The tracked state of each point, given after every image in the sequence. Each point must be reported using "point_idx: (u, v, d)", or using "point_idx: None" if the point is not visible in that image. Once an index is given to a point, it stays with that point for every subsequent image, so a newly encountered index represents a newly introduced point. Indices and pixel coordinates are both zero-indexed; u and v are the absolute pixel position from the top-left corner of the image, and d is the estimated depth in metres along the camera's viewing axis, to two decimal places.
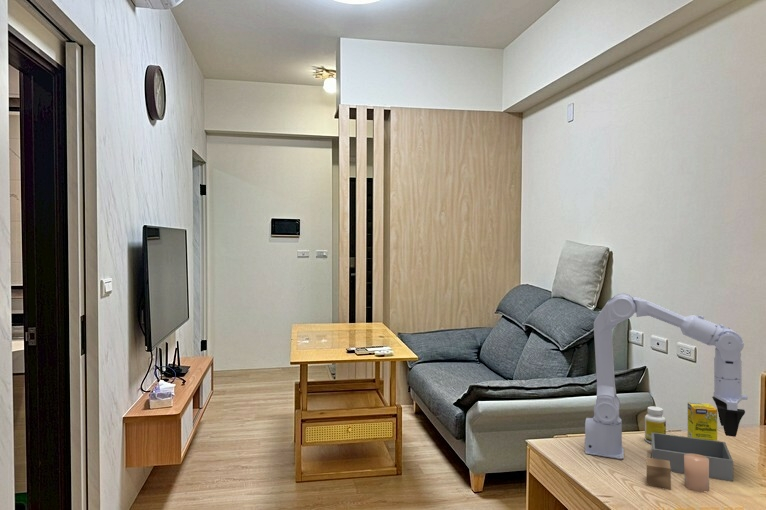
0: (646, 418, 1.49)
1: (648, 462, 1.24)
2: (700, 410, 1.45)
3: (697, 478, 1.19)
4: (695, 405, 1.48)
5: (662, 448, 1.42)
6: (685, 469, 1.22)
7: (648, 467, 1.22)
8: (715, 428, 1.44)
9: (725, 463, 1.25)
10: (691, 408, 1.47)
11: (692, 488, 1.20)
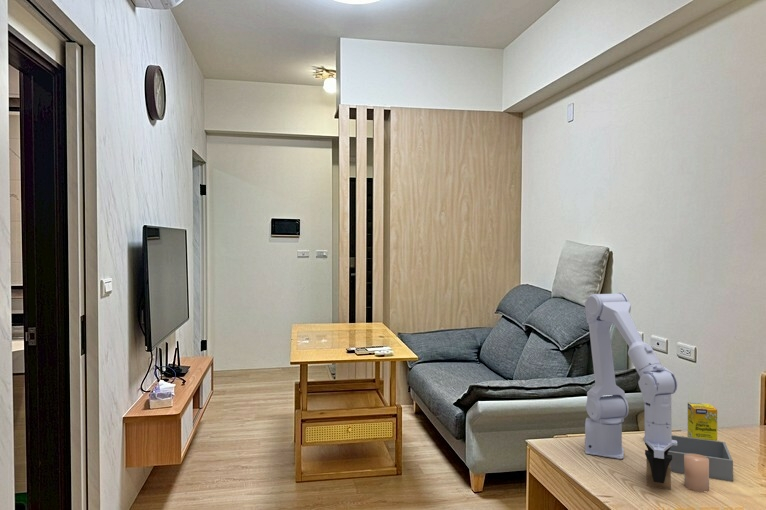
0: None
1: (648, 462, 1.24)
2: (700, 410, 1.45)
3: (697, 478, 1.19)
4: (695, 405, 1.48)
5: None
6: (685, 469, 1.22)
7: (648, 467, 1.22)
8: (715, 428, 1.44)
9: (725, 463, 1.25)
10: (692, 408, 1.47)
11: (692, 488, 1.20)
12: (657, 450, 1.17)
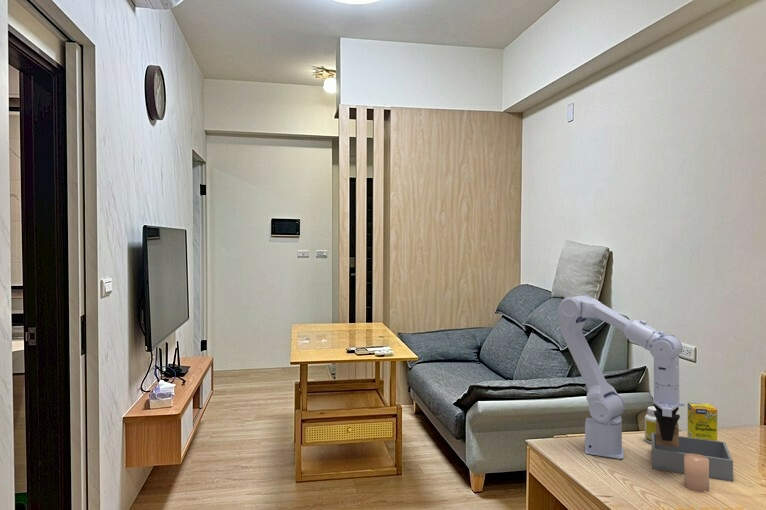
0: (646, 418, 1.49)
1: (657, 422, 1.31)
2: (700, 410, 1.45)
3: (697, 478, 1.19)
4: (695, 405, 1.48)
5: (662, 448, 1.42)
6: (685, 469, 1.22)
7: (657, 426, 1.30)
8: (715, 428, 1.44)
9: (725, 463, 1.25)
10: (691, 408, 1.47)
11: (692, 488, 1.20)
12: (665, 409, 1.25)
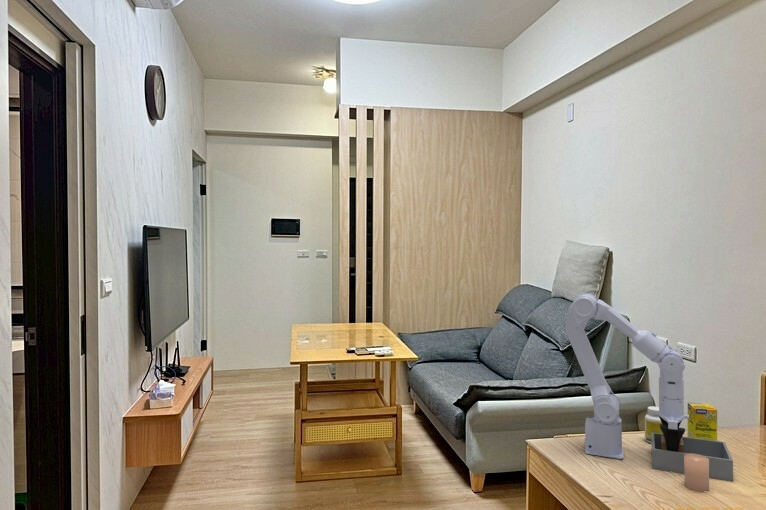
0: (646, 418, 1.49)
1: (663, 439, 1.36)
2: (700, 410, 1.45)
3: (697, 478, 1.19)
4: (695, 405, 1.48)
5: None
6: (685, 469, 1.22)
7: (663, 444, 1.34)
8: (715, 428, 1.44)
9: (725, 463, 1.25)
10: (692, 408, 1.47)
11: (692, 488, 1.20)
12: (671, 422, 1.29)
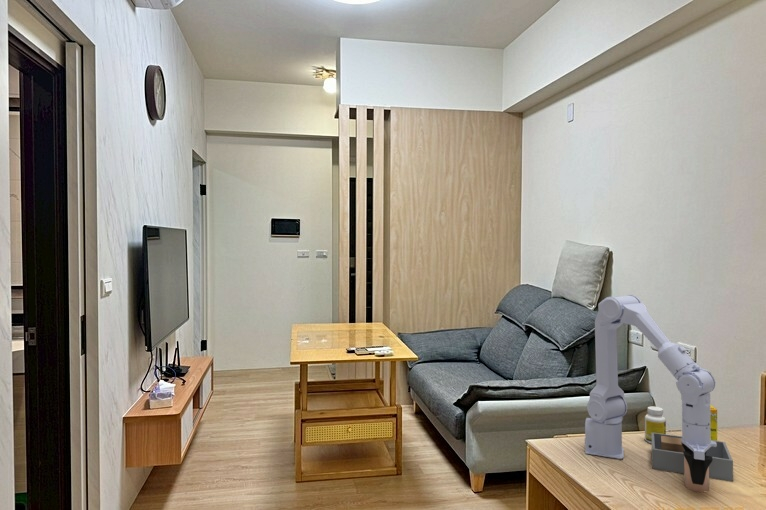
0: (646, 418, 1.49)
1: (663, 439, 1.36)
2: None
3: None
4: None
5: None
6: (685, 469, 1.22)
7: (663, 444, 1.34)
8: (715, 428, 1.44)
9: (725, 463, 1.25)
10: None
11: (692, 488, 1.20)
12: (697, 451, 1.15)
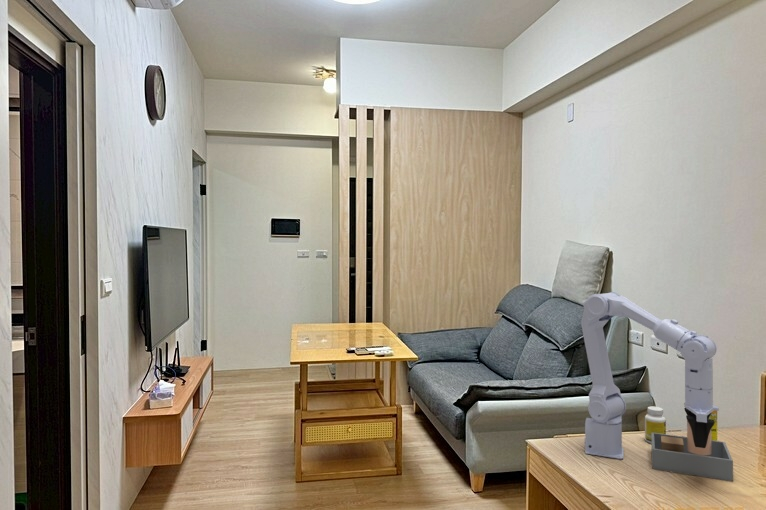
0: (646, 418, 1.49)
1: (663, 439, 1.36)
2: None
3: None
4: None
5: None
6: (688, 433, 1.24)
7: (663, 444, 1.34)
8: (715, 428, 1.44)
9: (725, 463, 1.25)
10: None
11: (695, 451, 1.22)
12: (700, 414, 1.18)
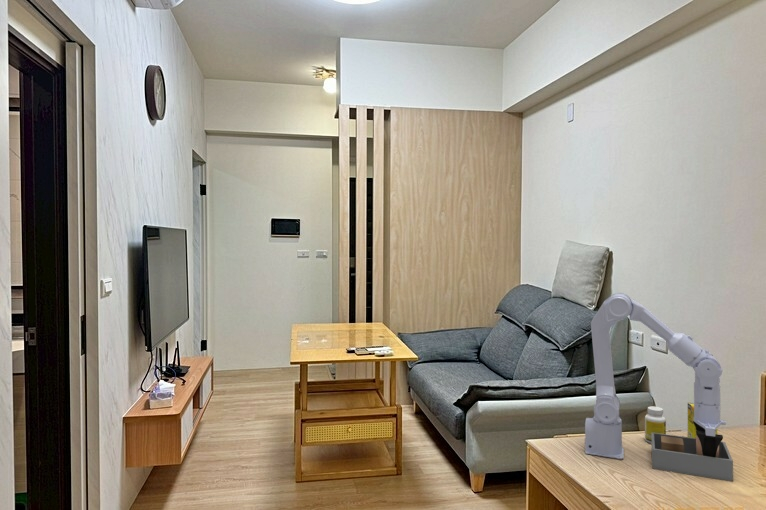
0: (646, 418, 1.49)
1: (663, 439, 1.36)
2: None
3: None
4: None
5: None
6: (697, 448, 1.32)
7: (663, 444, 1.34)
8: None
9: (725, 463, 1.25)
10: (692, 408, 1.47)
11: None
12: (709, 428, 1.25)
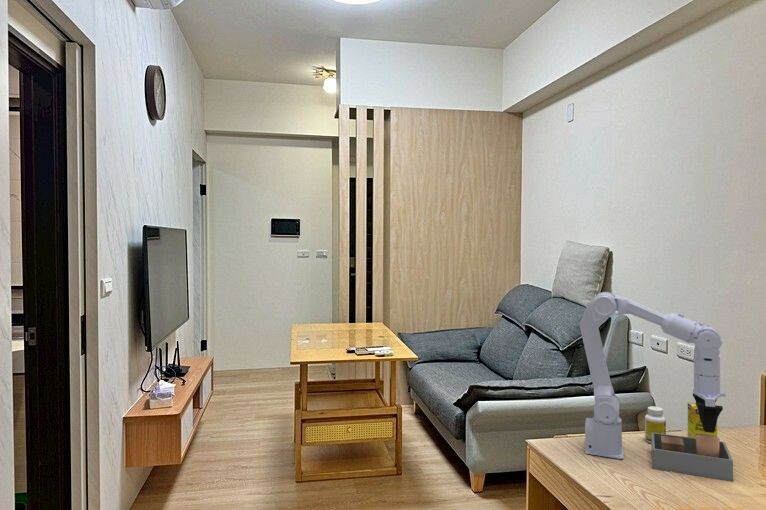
0: (646, 418, 1.49)
1: (663, 439, 1.36)
2: None
3: None
4: (695, 405, 1.48)
5: None
6: (697, 448, 1.32)
7: (663, 444, 1.34)
8: (715, 428, 1.44)
9: (725, 463, 1.25)
10: (692, 408, 1.47)
11: None
12: (708, 399, 1.25)
